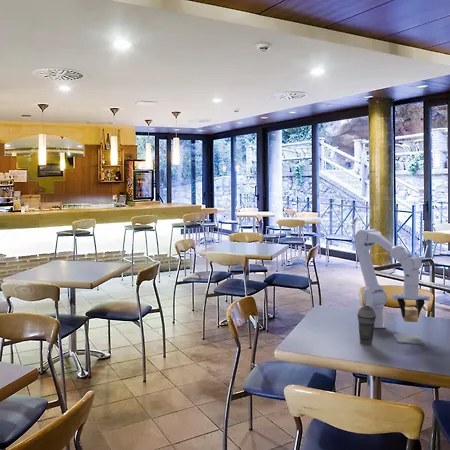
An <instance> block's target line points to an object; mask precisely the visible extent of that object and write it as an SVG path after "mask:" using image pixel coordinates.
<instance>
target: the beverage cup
mask: <svg viewBox="0 0 450 450" xmlns="http://www.w3.org/2000/svg"><path fill="white" fill-rule="evenodd" d="M363 297H364V298H365V303H364V305H362V306H363V307H362V306H361V307H360V308H359V309H358V310H357V311H358V312H357V321H358V333H359V336H358V337H359V344H360V345H361V346H364V347H370V346H372V345H373V337H374V329H375V328H374V322H375V318H376V314H375V311H374V309H373V308H372V307H370V306H366V295H363Z"/></svg>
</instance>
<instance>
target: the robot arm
mask: <svg viewBox="0 0 450 450" xmlns="http://www.w3.org/2000/svg"><path fill="white" fill-rule="evenodd" d="M354 241H355V250H356V251H355V252H356V255H357V258H358V262H359V266H360V270H361V273H362V276H363V281H364V284H365V287H364V289H363V290H362V293H363V295H362V296H363V297H362V299H363V303H364V304H365V298H364V295H366V306H370V307H372V308H373V309H374V311H375V314H376V318H375V322H374V329H375V328H377V329H385V328H386V327H385V325H384V307H385V304H386V303H387V301H388V295H387V293H386V292H385V290H384V287H383V286H382V285H380V284H379V282H378V278H377V276H376V272H375V267H374V264H373V260H372V257H371V254H370V250H371V248H372V247H373V246H374V245H375V244H377V245H379V246H380V247H381V248H383V249H385V250H386V251H387V252H389V254H390V257H391V258H392V259H394V260H395V261H396V262H398V263H399V264H400V266H401V267H402V270H403V293H397V294H396V293H393V294H392V295H391V297H392V300H393V301H395V300H396V301H397V303H398V305H399V308H400V312H401V317H402V318H403V317H405V307H406V300H407V301H415V308H416V309H417V310H418V319H419V318H420V314H421V311H422V309H423V307H424V305H425V304H426V303H425V301H427V302H430V300H431V299H430V295H426V294H425V295H424V294H419V282H420V279H419V278H420V269H421V268H422V266H423V261H422V259H421V257H419V256H418V255H413V254H412V253H411V252H409V251H407V250H406V249H404V246H403V245H394V244H393V243H392V241H390V240H388V238H386V237H385V236H384V235H383V234H382V232H381V231H379V230H378V229H376V228H370V229H359V230H357V232H356V233H355V235H354ZM363 306H364V305H362V306H361V307H363Z"/></svg>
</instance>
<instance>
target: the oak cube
mask: <svg viewBox="0 0 450 450" xmlns="http://www.w3.org/2000/svg"><path fill="white" fill-rule="evenodd" d="M402 319H403V321H404V322H405V323H406V322H407V323H408V322H410V323H418V322H419V318H418V310H417V309H416V306H405V317H402Z"/></svg>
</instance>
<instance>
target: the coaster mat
mask: <svg viewBox="0 0 450 450" xmlns="http://www.w3.org/2000/svg"><path fill="white" fill-rule="evenodd" d="M393 336H394V339H395V340H396V343H397V344H406V345H407V344H408V345H422V346H423V345H425V342H424V340H423V339H422V338H421V337H420V335H418V334H405V333H404V334H403V333H401V334H400V333H393Z"/></svg>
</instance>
